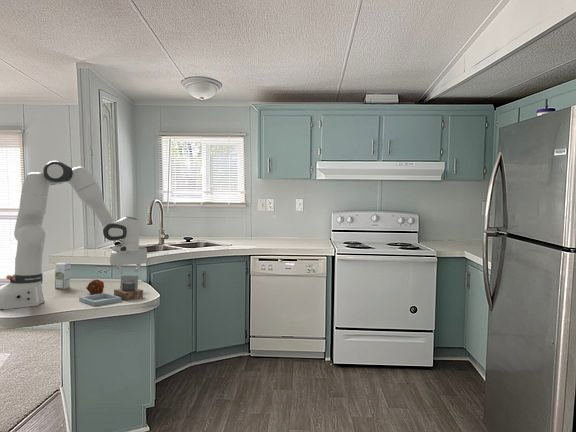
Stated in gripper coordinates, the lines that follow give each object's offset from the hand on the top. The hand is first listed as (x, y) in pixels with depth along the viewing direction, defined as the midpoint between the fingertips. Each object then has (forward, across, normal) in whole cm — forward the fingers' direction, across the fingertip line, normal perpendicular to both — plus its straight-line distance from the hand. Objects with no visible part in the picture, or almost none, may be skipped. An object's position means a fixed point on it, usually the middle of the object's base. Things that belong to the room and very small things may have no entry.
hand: (128, 272), depth 217 cm
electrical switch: (+14, -9, -13) cm, 21 cm away
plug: (+13, -1, 0) cm, 13 cm away
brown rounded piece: (+14, +7, -20) cm, 25 cm away
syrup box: (+14, +13, -45) cm, 49 cm away
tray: (+14, +14, -2) cm, 20 cm away
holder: (+13, -1, 0) cm, 13 cm away
